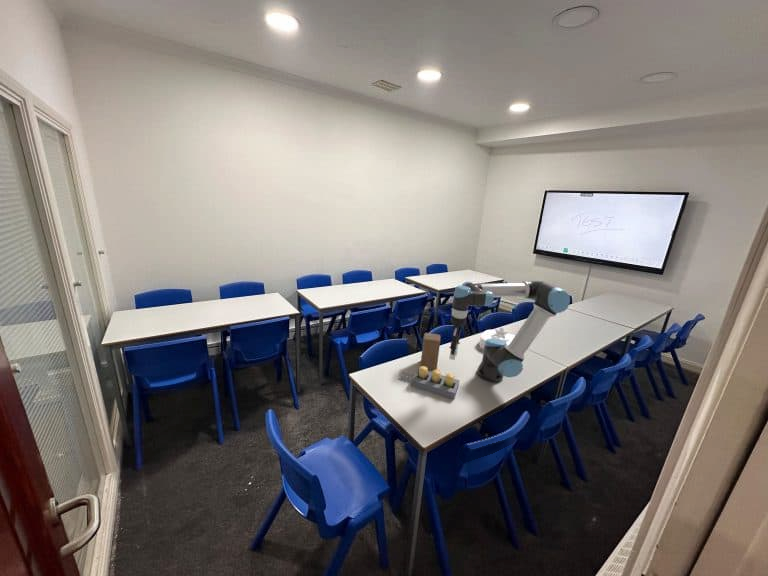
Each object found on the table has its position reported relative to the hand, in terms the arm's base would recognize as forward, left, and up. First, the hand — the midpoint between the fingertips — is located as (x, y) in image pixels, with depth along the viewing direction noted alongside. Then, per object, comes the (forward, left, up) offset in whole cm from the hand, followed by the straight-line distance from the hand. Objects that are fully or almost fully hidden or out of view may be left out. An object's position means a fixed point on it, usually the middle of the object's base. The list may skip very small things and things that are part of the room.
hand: (453, 357), depth 158 cm
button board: (+8, 0, -21) cm, 22 cm away
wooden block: (+17, -20, -21) cm, 33 cm away
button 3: (+15, 0, -16) cm, 22 cm away
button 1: (0, 0, -16) cm, 16 cm away
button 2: (+8, 0, -16) cm, 18 cm away
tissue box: (-22, -69, -21) cm, 76 cm away
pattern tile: (+24, 0, -21) cm, 32 cm away
